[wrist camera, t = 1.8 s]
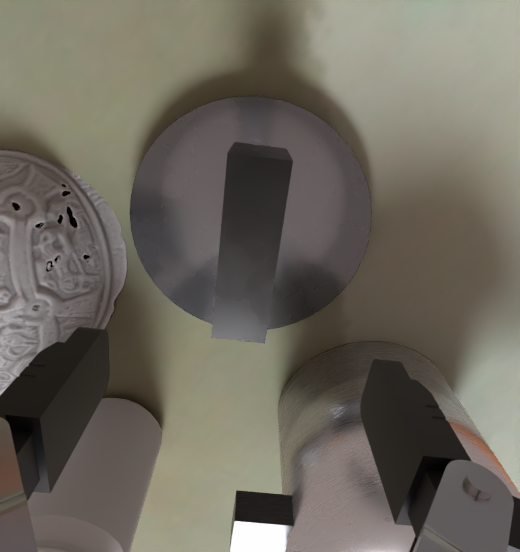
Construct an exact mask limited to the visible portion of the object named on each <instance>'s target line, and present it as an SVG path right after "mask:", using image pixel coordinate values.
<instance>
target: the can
mask: <svg viewBox="0 0 520 552" xmlns="http://www.w3.org/2000/svg"><path fill="white" fill-rule="evenodd" d="M161 440H162V432H161V429H160V426H159V423H158V422H157V421H156V419H155V418H154V417H153V416H152V414H151V413H150V412H148V411H147V410H146V409H145V408H143V407H142V406H140V405H139V404H138V403H135V402H132V401H130V400H127V399H121V398H103V399H101V401H100V403H99V405H98V407H97V408H96V410H95V412H94V414H93V416H92V418H91V419H90V421H89V423H88V425H87V427H86V429H85V430H84V432H83V434H82V436H81V438H80V440H79V441H78V443H77V445H76V447H75V449H74V451H73V452H72V454H71V456H70V458H69V460H68V462H67V463H66V465H65V467H64V469H63V471H62V473H61V474H60V476H59V478H58V480H57V482H56V484H55V485H54V487H53V489H52V491H51V493H40V492H33V493H32V495H31V496H30V498H29V500H28V501H27V503H28V508H29V512H30V517H31V522H32V526H33V531H34V535H35V540H36V544H37V549H38V552H130V549H131V545H132V542H133V538H134V535H135V532H136V528H137V525H138V521H139V518H140V514H141V511H142V508H143V504H144V501H145V497H146V494H147V490H148V487H149V484H150V480H151V477H152V473H153V470H154V467H155V463H156V460H157V456H158V453H159V449H160V446H161Z"/></svg>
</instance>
